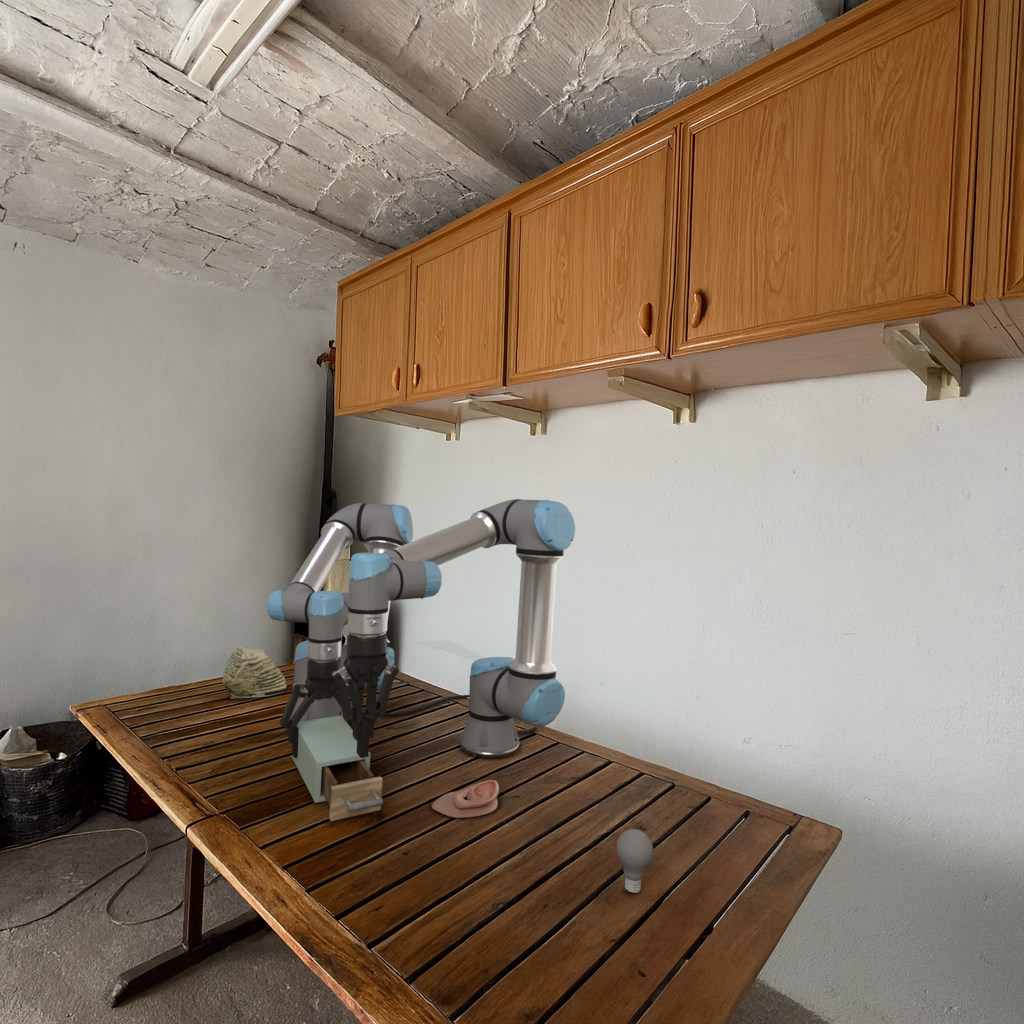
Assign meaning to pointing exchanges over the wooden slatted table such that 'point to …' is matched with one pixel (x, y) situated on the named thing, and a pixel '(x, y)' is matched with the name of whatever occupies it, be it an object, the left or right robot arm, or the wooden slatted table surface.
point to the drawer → (351, 789)
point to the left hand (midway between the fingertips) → (321, 751)
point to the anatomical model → (469, 800)
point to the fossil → (252, 674)
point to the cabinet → (324, 750)
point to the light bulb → (634, 857)
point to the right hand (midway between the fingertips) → (362, 754)
